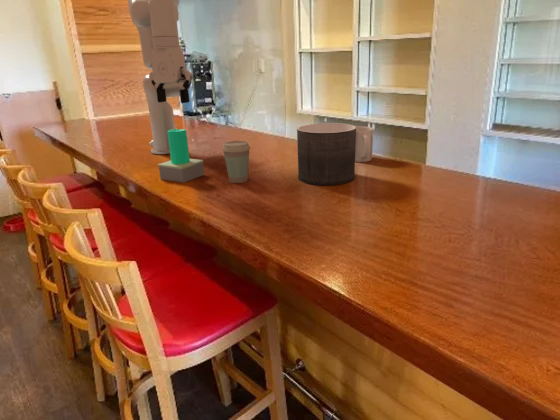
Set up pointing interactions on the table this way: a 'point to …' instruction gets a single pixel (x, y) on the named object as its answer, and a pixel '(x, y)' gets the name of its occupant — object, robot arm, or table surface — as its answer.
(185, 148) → the candle
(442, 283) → the table surface
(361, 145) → the mug
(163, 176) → the pedestal
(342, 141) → the planter
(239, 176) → the coffee cup
